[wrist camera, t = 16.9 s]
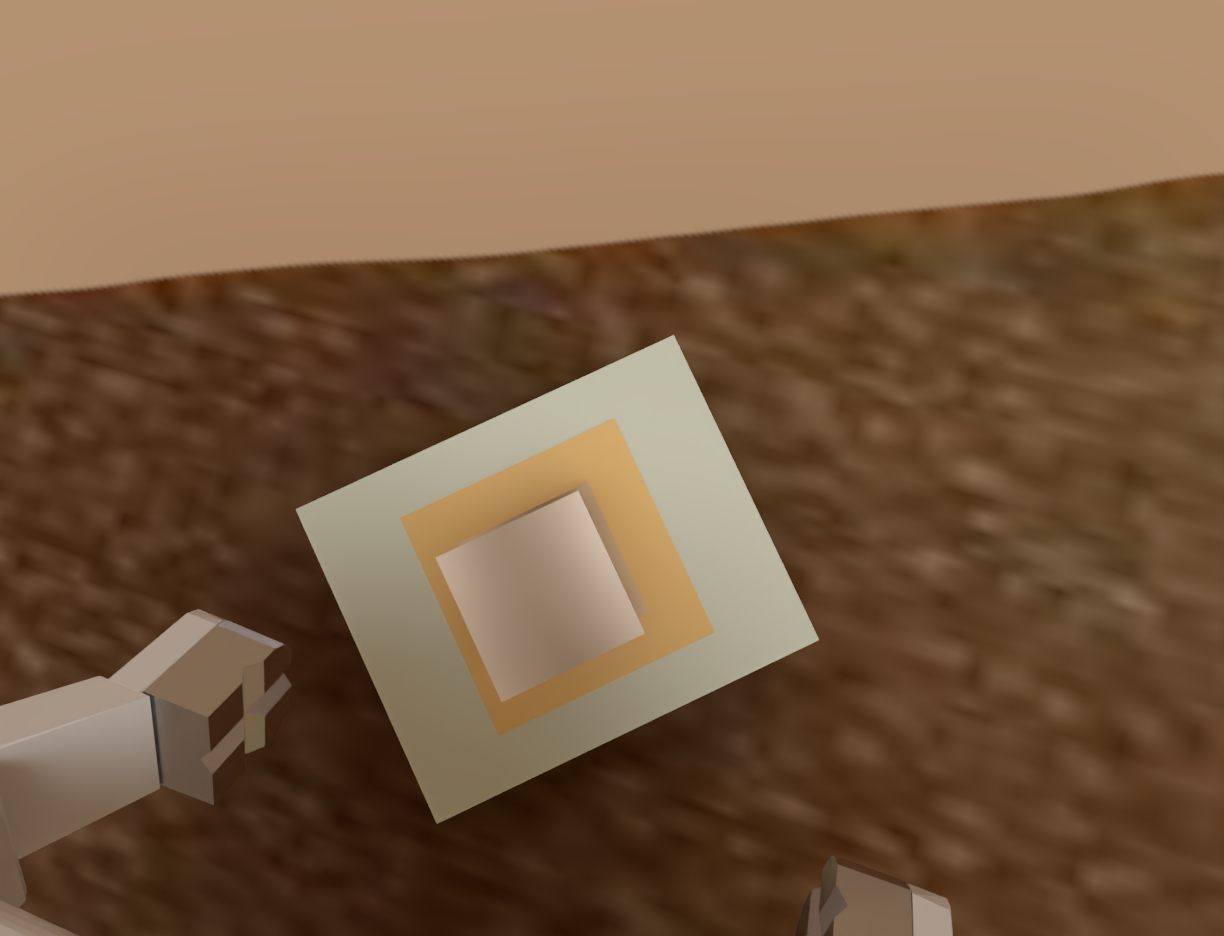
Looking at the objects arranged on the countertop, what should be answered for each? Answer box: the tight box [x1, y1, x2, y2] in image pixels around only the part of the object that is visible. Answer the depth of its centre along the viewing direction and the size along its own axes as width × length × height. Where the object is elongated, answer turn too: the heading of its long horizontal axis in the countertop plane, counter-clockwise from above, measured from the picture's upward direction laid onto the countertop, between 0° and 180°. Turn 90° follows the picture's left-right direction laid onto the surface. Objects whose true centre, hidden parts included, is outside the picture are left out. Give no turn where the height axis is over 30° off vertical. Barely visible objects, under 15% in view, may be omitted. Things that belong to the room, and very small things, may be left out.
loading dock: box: [296, 335, 819, 824], centre depth 34 cm, size 16×13×4 cm
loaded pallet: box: [436, 482, 649, 702], centre depth 28 cm, size 5×5×8 cm
